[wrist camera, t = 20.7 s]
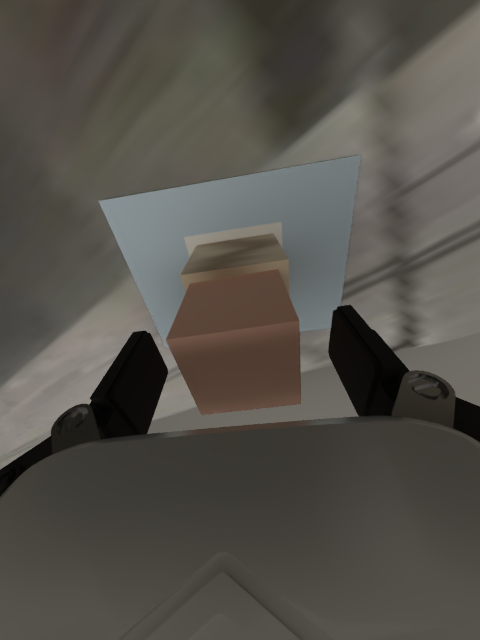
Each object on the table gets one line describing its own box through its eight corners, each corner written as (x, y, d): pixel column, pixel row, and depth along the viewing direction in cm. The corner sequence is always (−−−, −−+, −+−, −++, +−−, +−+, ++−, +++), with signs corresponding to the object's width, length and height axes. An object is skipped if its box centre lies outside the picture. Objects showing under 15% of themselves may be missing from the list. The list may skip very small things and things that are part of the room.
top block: (277, 268, 12) (299, 320, 8) (283, 338, 15) (301, 403, 10) (189, 283, 12) (165, 340, 8) (211, 348, 15) (201, 414, 11)
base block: (273, 233, 16) (288, 259, 12) (277, 300, 20) (290, 343, 15) (196, 245, 17) (180, 275, 12) (213, 309, 20) (205, 353, 15)
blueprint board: (357, 155, 14) (361, 154, 14) (335, 324, 22) (338, 328, 22) (103, 200, 16) (97, 201, 15) (167, 344, 24) (165, 348, 23)
